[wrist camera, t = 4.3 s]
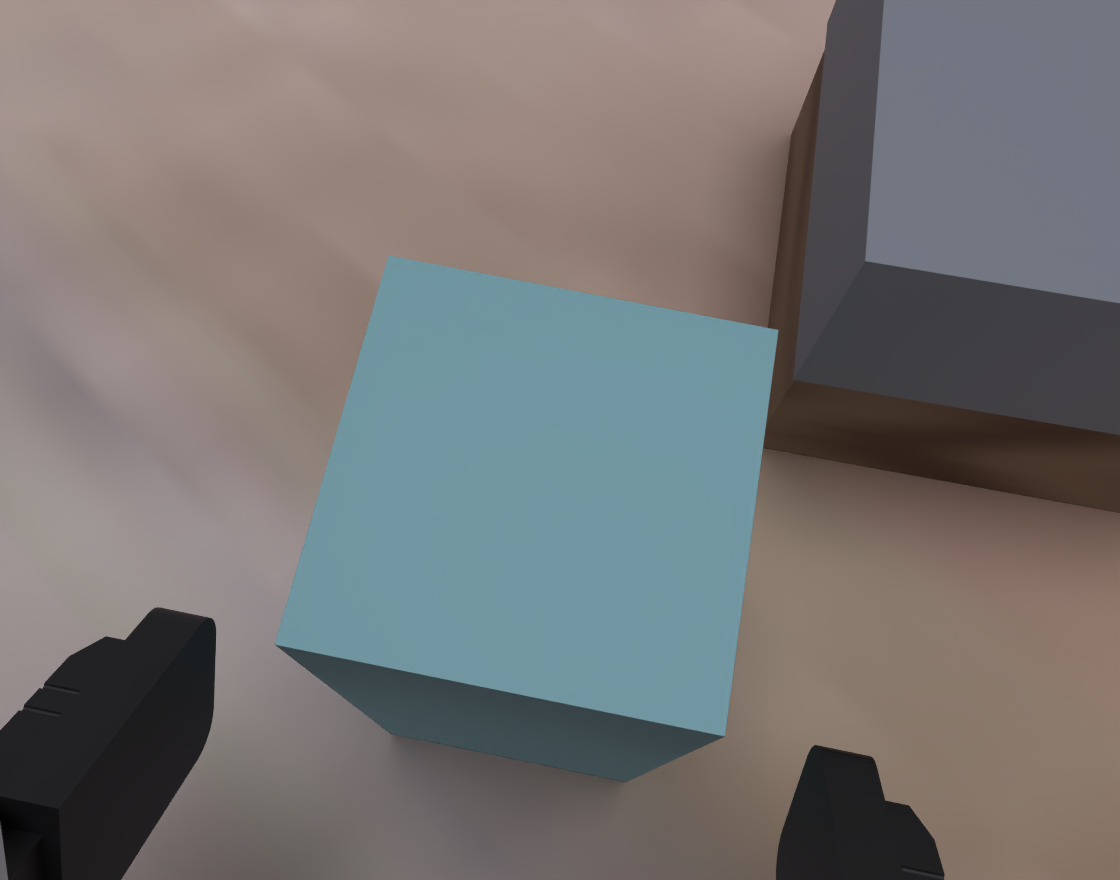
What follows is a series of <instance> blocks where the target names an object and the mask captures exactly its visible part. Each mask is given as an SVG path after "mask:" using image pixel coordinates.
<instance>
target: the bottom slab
mask: <svg viewBox="0 0 1120 880" xmlns="http://www.w3.org/2000/svg"><path fill="white" fill-rule="evenodd" d="M824 55H825V50H824V53H823V55H822V58H821V61H820V63H819V66H818V68H817V71H816V73H815V76H814V78H813V81H812V84H811V86H810V89H809V91H808V94H807V96H806V99H805V101H804V104H803V106H802V109H801V112H800V114H799V117H798V119H797V122H796V124H795V127H794V129H793V132H792V135H791V142H790V151H789V159H788V167H787V176H786V184H785V192H784V200H783V209H782V217H781V225H780V233H779V242H778V250H777V258H776V266H775V275H774V283H773V291H772V300H771V308H770V316H769V324H768V328H771V329H776V330H778V337H777V345H776V352H775V360H774V367H773V375H772V382H771V390H770V398H769V405H768V413H767V420H766V428H765V436H764V443H763V448H767V449H772V450H778V451H783V452H789V453H794V454H800V455H805V456H811V457H816V458H822V459H827V460H832V461H838V462H843V463H849V464H854V465H860V466H865V467H871V468H876V469H882V470H887V471H893V472H898V473H904V474H909V475H915V476H920V477H926V478H931V479H937V480H942V481H948V482H953V483H959V484H964V485H970V486H975V487H981V488H986V489H991V490H997V491H1002V492H1008V493H1013V494H1019V495H1024V496H1030V497H1035V498H1041V499H1046V500H1052V501H1057V502H1063V503H1068V504H1074V505H1079V506H1085V507H1090V508H1096V509H1101V510H1107V511H1112V512H1118V513H1120V435H1116V434H1110V433H1105V432H1099V431H1093V430H1087V429H1081V428H1075V427H1069V426H1063V425H1057V424H1051V423H1045V422H1039V421H1034V420H1028V419H1022V418H1016V417H1010V416H1004V415H998V414H992V413H986V412H980V411H974V410H969V409H963V408H957V407H951V406H945V405H939V404H933V403H927V402H921V401H915V400H909V399H904V398H898V397H892V396H886V395H880V394H874V393H868V392H862V391H856V390H850V389H844V388H839V387H833V386H827V385H821V384H815V383H809V382H803V381H797V380H793V376H794V366H795V355H796V345H797V335H798V324H799V314H800V304H801V293H802V283H803V272H804V262H805V252H806V241H807V231H808V221H809V210H810V200H811V190H812V179H813V169H814V158H815V148H816V138H817V127H818V117H819V107H820V96H821V86H822V75H823V65H824Z"/></svg>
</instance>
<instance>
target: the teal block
mask: <svg viewBox="0 0 1120 880" xmlns="http://www.w3.org/2000/svg"><path fill="white" fill-rule="evenodd" d="M777 337H778V330H776V329H771V328H765V327H760V326H755V325H750V324H744V323H739V322H734V321H729V320H723V319H718V318H713V317H708V316H703V315H697V314H692V313H687V312H682V311H676V310H671V309H666V308H661V307H655V306H650V305H645V304H640V303H634V302H629V301H624V300H619V299H613V298H608V297H603V296H598V295H593V294H587V293H582V292H577V291H572V290H566V289H561V288H556V287H551V286H545V285H540V284H535V283H530V282H524V281H519V280H514V279H509V278H503V277H498V276H493V275H488V274H482V273H477V272H472V271H467V270H462V269H456V268H451V267H446V266H441V265H435V264H430V263H425V262H420V261H414V260H409V259H404V258H399V257H393V256H388V260H387V263H386V266H385V270H384V273H383V277H382V280H381V283H380V287H379V290H378V294H377V297H376V300H375V304H374V307H373V311H372V314H371V318H370V321H369V324H368V328H367V331H366V335H365V338H364V341H363V345H362V348H361V352H360V355H359V358H358V362H357V365H356V369H355V372H354V375H353V379H352V382H351V386H350V389H349V393H348V396H347V399H346V403H345V406H344V410H343V413H342V416H341V420H340V423H339V427H338V430H337V433H336V437H335V440H334V444H333V447H332V451H331V454H330V457H329V461H328V464H327V468H326V471H325V474H324V478H323V481H322V485H321V488H320V491H319V495H318V498H317V502H316V505H315V508H314V512H313V515H312V519H311V522H310V526H309V529H308V532H307V536H306V539H305V543H304V546H303V549H302V553H301V556H300V560H299V563H298V566H297V570H296V573H295V577H294V580H293V583H292V587H291V590H290V594H289V597H288V601H287V604H286V607H285V611H284V614H283V618H282V621H281V624H280V628H279V631H278V635H277V638H276V641H275V645H276V646H277V647H279V648H280V649H281V650H282V651H284V652H285V653H286V654H288V655H289V656H290V657H292V658H293V659H294V660H295V661H297V662H298V663H299V664H301V665H302V666H303V667H305V668H306V669H307V670H308V671H310V672H311V673H312V674H314V675H315V676H316V677H317V678H319V679H320V680H321V681H323V682H324V683H325V684H327V685H328V686H329V687H330V688H332V689H333V690H334V691H336V692H337V693H338V694H340V695H341V696H342V697H343V698H345V699H346V700H347V701H349V702H350V703H351V704H353V705H354V706H355V707H356V708H358V709H359V710H360V711H362V712H363V713H364V714H366V715H367V716H368V717H369V718H371V719H372V720H373V721H375V722H376V723H377V724H379V725H380V726H381V727H382V728H384V729H385V730H386V731H388V732H389V733H390V734H395V735H400V736H405V737H409V738H414V739H419V740H424V741H429V742H434V743H439V744H443V745H448V746H453V747H458V748H463V749H468V750H473V751H477V752H482V753H487V754H492V755H497V756H502V757H506V758H511V759H516V760H521V761H526V762H531V763H536V764H540V765H545V766H550V767H555V768H560V769H565V770H570V771H574V772H579V773H584V774H589V775H594V776H599V777H603V778H608V779H613V780H618V781H623V782H626V781H629V780H631V779H633V778H635V777H637V776H639V775H642V774H644V773H646V772H648V771H650V770H653V769H655V768H657V767H659V766H661V765H663V764H666V763H668V762H670V761H672V760H674V759H677V758H679V757H681V756H683V755H685V754H687V753H690V752H692V751H694V750H696V749H698V748H701V747H703V746H705V745H707V744H709V743H711V742H714V741H716V740H718V739H720V738H722V737H725V731H726V724H727V716H728V709H729V701H730V693H731V686H732V678H733V671H734V663H735V656H736V648H737V640H738V633H739V625H740V618H741V610H742V602H743V595H744V587H745V580H746V572H747V564H748V557H749V549H750V542H751V534H752V527H753V519H754V511H755V504H756V496H757V489H758V481H759V473H760V466H761V458H762V451H763V443H764V436H765V428H766V420H767V413H768V405H769V398H770V390H771V382H772V375H773V367H774V360H775V352H776V345H777Z"/></svg>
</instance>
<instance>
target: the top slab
mask: <svg viewBox="0 0 1120 880" xmlns="http://www.w3.org/2000/svg"><path fill="white" fill-rule="evenodd" d="M793 380H797V381H803V382H809V383H815V384H821V385H827V386H833V387H839V388H844V389H850V390H856V391H862V392H868V393H874V394H880V395H886V396H892V397H898V398H904V399H909V400H915V401H921V402H927V403H933V404H939V405H945V406H951V407H957V408H963V409H969V410H974V411H980V412H986V413H992V414H998V415H1004V416H1010V417H1016V418H1022V419H1028V420H1034V421H1039V422H1045V423H1051V424H1057V425H1063V426H1069V427H1075V428H1081V429H1087V430H1093V431H1099V432H1105V433H1110V434H1116V435H1120V0H836V2H835V5H834V7H833V10H832V12H831V15H830V18H829V20H828V24H827V34H826V44H825V55H824V65H823V75H822V86H821V96H820V107H819V117H818V127H817V138H816V148H815V158H814V169H813V179H812V190H811V200H810V210H809V221H808V231H807V241H806V252H805V262H804V272H803V283H802V293H801V304H800V314H799V324H798V335H797V345H796V355H795V366H794V376H793Z"/></svg>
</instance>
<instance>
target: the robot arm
mask: <svg viewBox="0 0 1120 880" xmlns="http://www.w3.org/2000/svg"><path fill="white" fill-rule="evenodd" d="M215 652H216V626H215V622H214V620H213V619H212V618H208V617H203V616H198V615H193V614H189V613H184V612H179V611H174V610H169V609H164V608H159V607H157V608H154V609H153V610H151V611H150V612H149V613H148V614H147V616H146V617H145V618H144V619H143V620H142V621H141V622H140V624H139V625H138V626H137V627H136V628H135V629H134V631H133V632H132V633H131V634H130V635H129V636H128V637H127V639H126V640H121V639H116V638H111V637H104V638H102V639H100V640H99V641H97V642H95V643H93V644H91V645H89V646H87V647H86V648H84V649H82V650H80V651H78V652H76V653H75V654H73V655H71V656H69V657H68V658H67V659H66V660H65V661H64V663H63V664H62V665H61V666H60V667H59V668H58V669H57V670H56V671H55V672H54V673H53V674H52V675H51V676H50V678H49V679H48V680H47V681H46V682H45V683H44V687H43V689H41V688H39V689H38V690H37V692H36V693H35V694H34V695H33V696H32V697H31V698H30V699H29V700H28V701H27V702H26V703H25V704H24V708H23V710H22V711H18V712H17V713H16V714H15V715H14V716H13V717H12V718H11V719H10V721H9V722H8V723H7V724H6V725H5V726H4V727H3V728H2V729H1V730H0V880H121V879H122V877H123V876H124V874H125V873H126V871H127V869H128V868H129V866H130V865H131V863H132V862H133V860H134V858H135V857H136V855H137V854H138V852H139V851H140V849H141V847H142V846H143V844H144V843H145V841H146V840H147V838H148V836H149V835H150V833H151V832H152V830H153V829H154V827H155V826H156V824H157V822H158V821H159V819H160V818H161V816H162V815H163V813H164V811H165V810H166V808H167V807H168V805H169V804H170V802H171V800H172V799H173V797H174V796H175V794H176V793H177V791H178V789H179V788H180V786H181V785H182V783H183V782H184V780H185V778H186V777H187V775H188V774H189V772H190V771H191V769H192V767H193V766H194V764H195V763H196V761H197V760H198V758H199V756H200V754H201V752H202V750H203V748H204V746H205V743H206V740H207V738H208V734H209V731H210V727H211V723H212V718H213V710H214V683H215ZM944 875H945V874H944V871H943V868H942V864H941V861H940V857H939V854H938V851H937V847H936V844H935V840H934V839H933V837H932V836H931V835H930V833H929V832H928V830H927V829H926V828H925V826H924V825H923V824H922V822H921V821H920V820H919V818H918V817H917V816H916V814H915V813H914V812H913V810H912V809H911V808H910V806H908V805H903V804H899V803H894V802H889V801H885V798H884V794H883V790H882V786H881V782H880V778H879V774H878V770H877V766H876V763H875V761H874V759H873V758H872V757H870V756H866V755H861V754H856V753H852V752H847V751H842V750H837V749H832V748H827V747H823V746H818V745H815V746H813V747H812V748H811V750H810V752H809V754H808V756H807V759H806V762H805V765H804V768H803V771H802V774H801V776H800V779H799V782H798V785H797V788H796V791H795V794H794V797H793V800H792V803H791V806H790V809H789V812H788V815H787V818H786V821H785V824H784V827H783V830H782V833H781V837H780V842H779V847H778V854H777V865H776V880H944Z"/></svg>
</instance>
